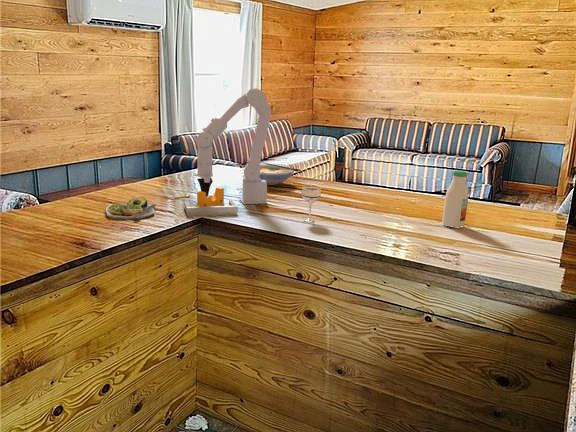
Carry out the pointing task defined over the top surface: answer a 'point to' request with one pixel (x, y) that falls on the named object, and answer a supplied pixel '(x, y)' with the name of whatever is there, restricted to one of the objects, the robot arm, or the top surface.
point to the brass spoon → (182, 196)
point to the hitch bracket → (211, 210)
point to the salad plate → (131, 209)
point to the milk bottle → (456, 200)
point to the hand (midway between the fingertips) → (204, 196)
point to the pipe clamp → (210, 198)
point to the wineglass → (310, 196)
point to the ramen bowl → (275, 173)
